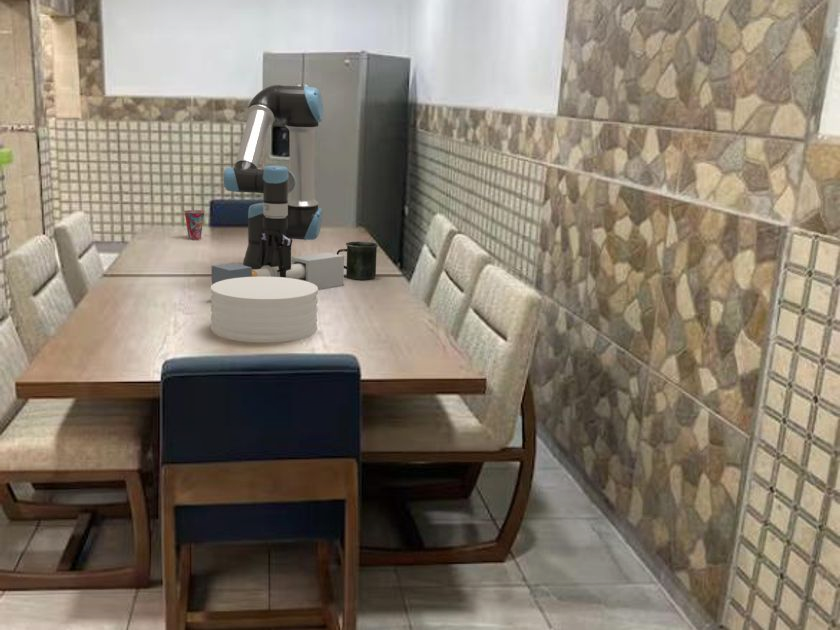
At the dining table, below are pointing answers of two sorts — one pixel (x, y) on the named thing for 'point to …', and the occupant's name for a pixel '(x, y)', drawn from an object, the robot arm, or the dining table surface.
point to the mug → (360, 260)
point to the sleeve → (323, 269)
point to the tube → (266, 271)
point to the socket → (229, 272)
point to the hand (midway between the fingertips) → (274, 289)
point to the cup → (194, 223)
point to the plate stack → (264, 309)
